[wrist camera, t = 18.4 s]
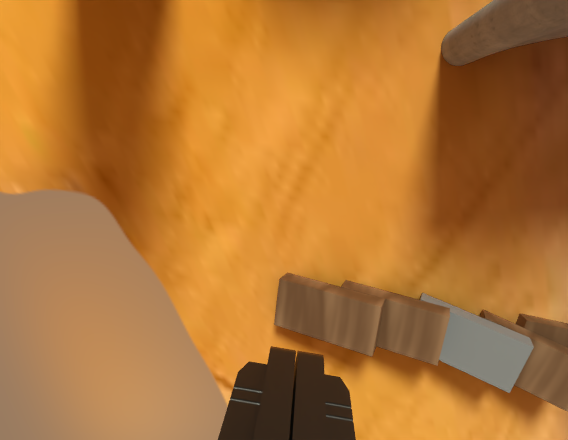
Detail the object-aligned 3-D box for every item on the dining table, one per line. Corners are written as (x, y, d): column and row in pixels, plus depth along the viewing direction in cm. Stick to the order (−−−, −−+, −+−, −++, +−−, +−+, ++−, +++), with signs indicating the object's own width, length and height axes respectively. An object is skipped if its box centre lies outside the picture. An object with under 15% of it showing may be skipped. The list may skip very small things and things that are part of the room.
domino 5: (461, 359, 39) (570, 412, 36) (485, 317, 37) (600, 369, 35) (460, 349, 41) (564, 400, 38) (483, 309, 39) (592, 358, 36)
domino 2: (332, 332, 39) (437, 365, 36) (340, 286, 38) (449, 316, 35) (338, 324, 41) (437, 355, 38) (345, 280, 40) (449, 308, 37)
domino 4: (509, 364, 39) (610, 386, 39) (527, 320, 38) (630, 342, 38) (500, 353, 41) (596, 373, 41) (516, 310, 40) (615, 331, 40)
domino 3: (402, 343, 39) (509, 393, 36) (420, 299, 38) (533, 347, 34) (404, 334, 41) (507, 381, 38) (422, 292, 40) (530, 337, 36)
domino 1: (274, 324, 40) (372, 356, 36) (279, 278, 39) (381, 307, 35) (282, 316, 42) (376, 346, 38) (287, 272, 40) (385, 298, 37)
